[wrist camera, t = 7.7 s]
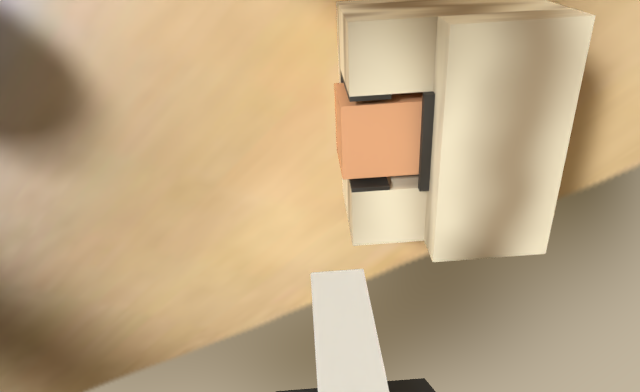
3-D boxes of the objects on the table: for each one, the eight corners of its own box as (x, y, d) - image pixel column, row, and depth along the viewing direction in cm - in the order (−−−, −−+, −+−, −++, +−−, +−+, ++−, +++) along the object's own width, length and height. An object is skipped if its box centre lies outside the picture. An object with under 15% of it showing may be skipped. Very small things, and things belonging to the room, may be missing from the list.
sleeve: (342, 191, 33) (356, 267, 26) (336, 1, 27) (352, 30, 20) (490, 181, 33) (545, 253, 26) (514, -10, 28) (595, 15, 20)
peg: (336, 149, 30) (342, 179, 26) (334, 83, 28) (340, 106, 24) (502, 137, 30) (530, 166, 26) (511, 71, 28) (543, 93, 24)
